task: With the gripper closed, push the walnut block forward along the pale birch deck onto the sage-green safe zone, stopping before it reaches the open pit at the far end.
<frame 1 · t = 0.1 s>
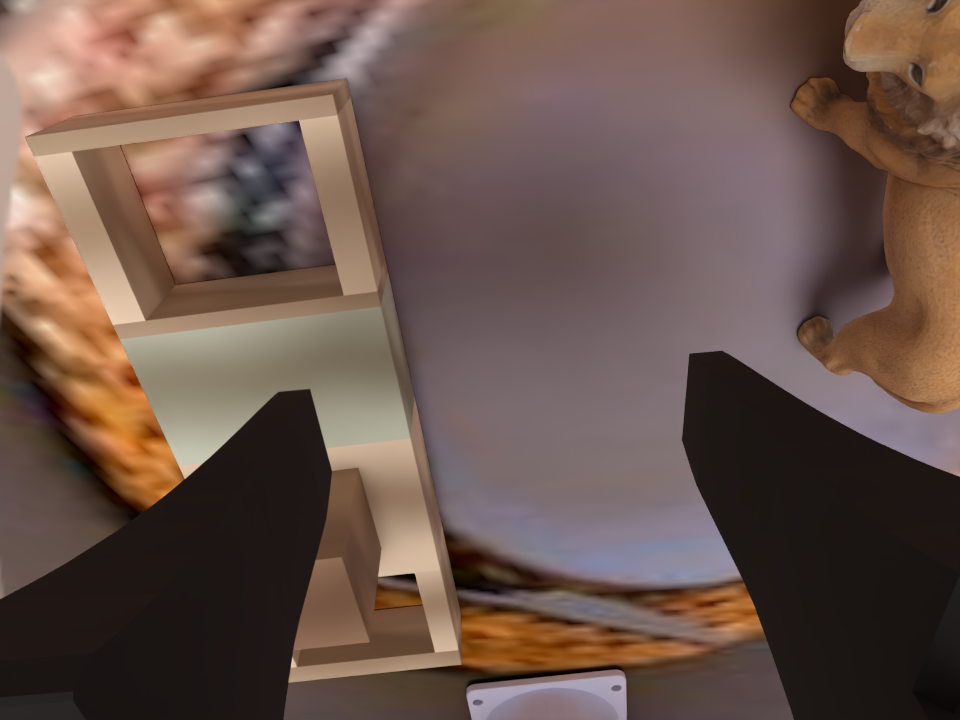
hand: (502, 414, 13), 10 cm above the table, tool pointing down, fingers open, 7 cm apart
lion figurine: (836, 170, 21), on the table
walnut block: (316, 516, 24), point 2 cm above the table, touching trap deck
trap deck: (312, 425, 25), on the table
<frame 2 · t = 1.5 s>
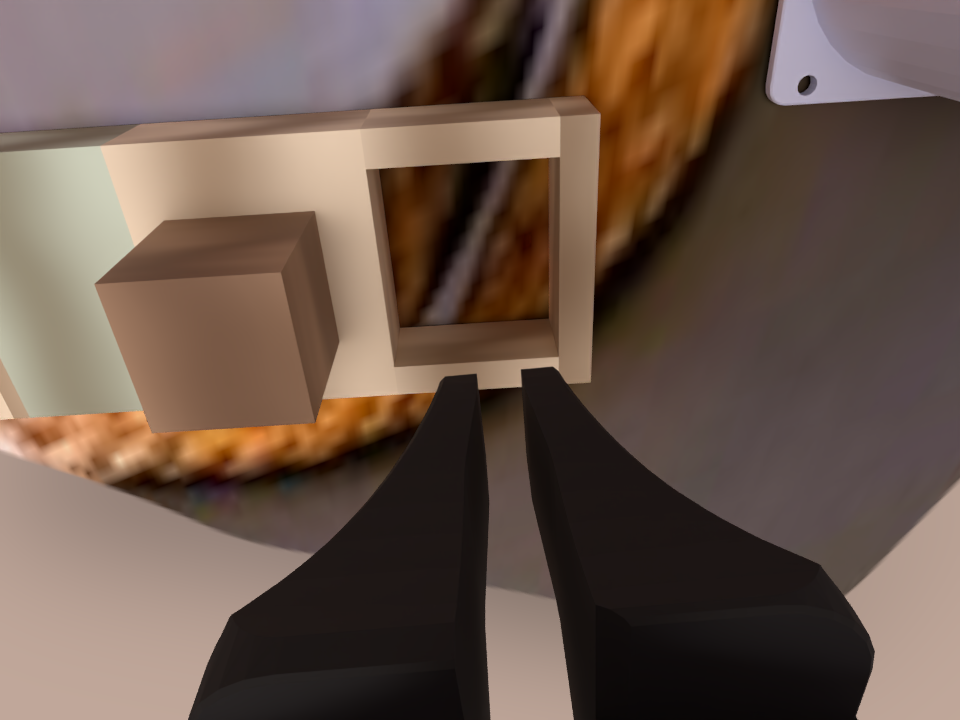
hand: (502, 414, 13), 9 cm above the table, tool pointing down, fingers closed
walnut block: (256, 284, 19), point 2 cm above the table, touching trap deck
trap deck: (205, 255, 21), on the table
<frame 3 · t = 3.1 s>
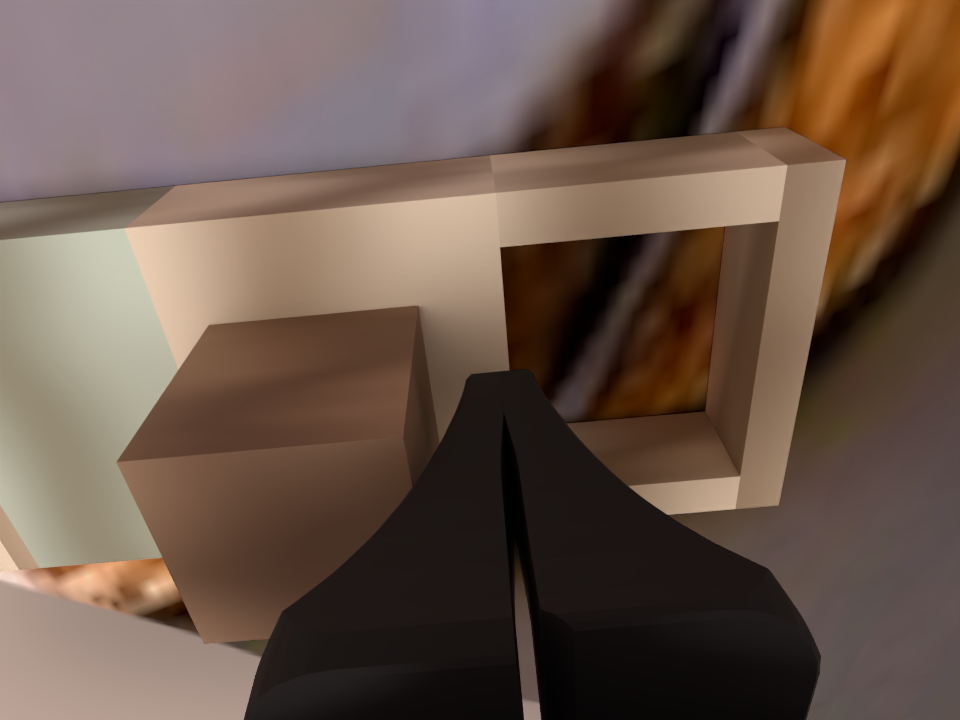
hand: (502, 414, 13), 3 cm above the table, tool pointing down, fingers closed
walnut block: (334, 401, 14), point 3 cm above the table, touching gripper
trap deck: (261, 348, 16), on the table
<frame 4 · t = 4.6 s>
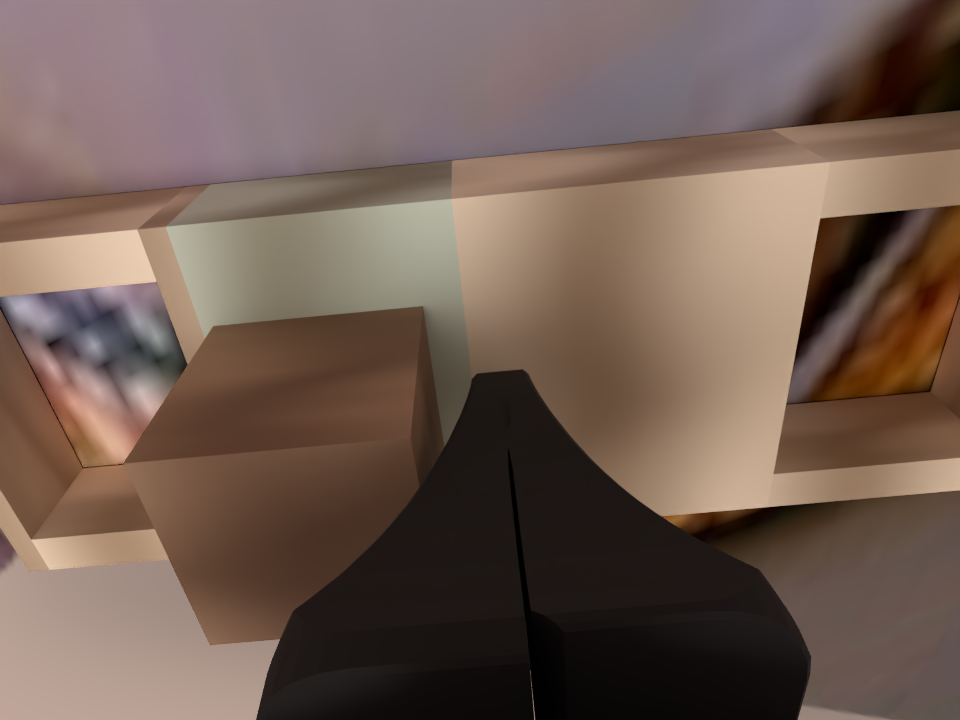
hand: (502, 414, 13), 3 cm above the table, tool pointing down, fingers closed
walnut block: (338, 402, 14), point 2 cm above the table, touching gripper, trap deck
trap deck: (502, 328, 16), on the table
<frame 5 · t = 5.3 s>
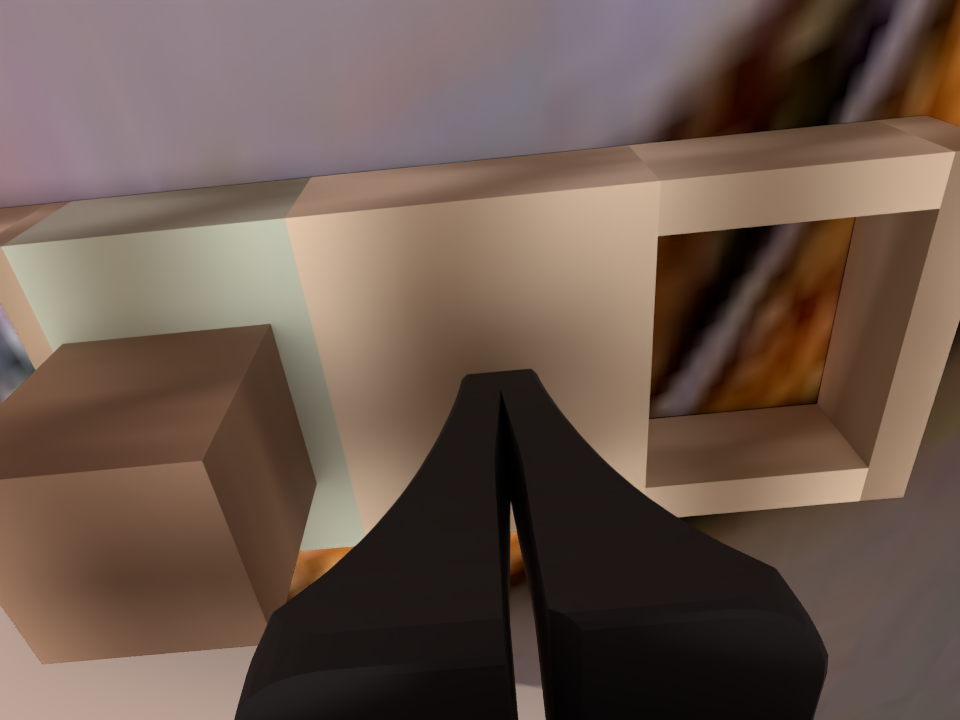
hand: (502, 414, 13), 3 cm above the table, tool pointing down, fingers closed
walnut block: (198, 418, 14), point 2 cm above the table, touching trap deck
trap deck: (380, 342, 16), on the table
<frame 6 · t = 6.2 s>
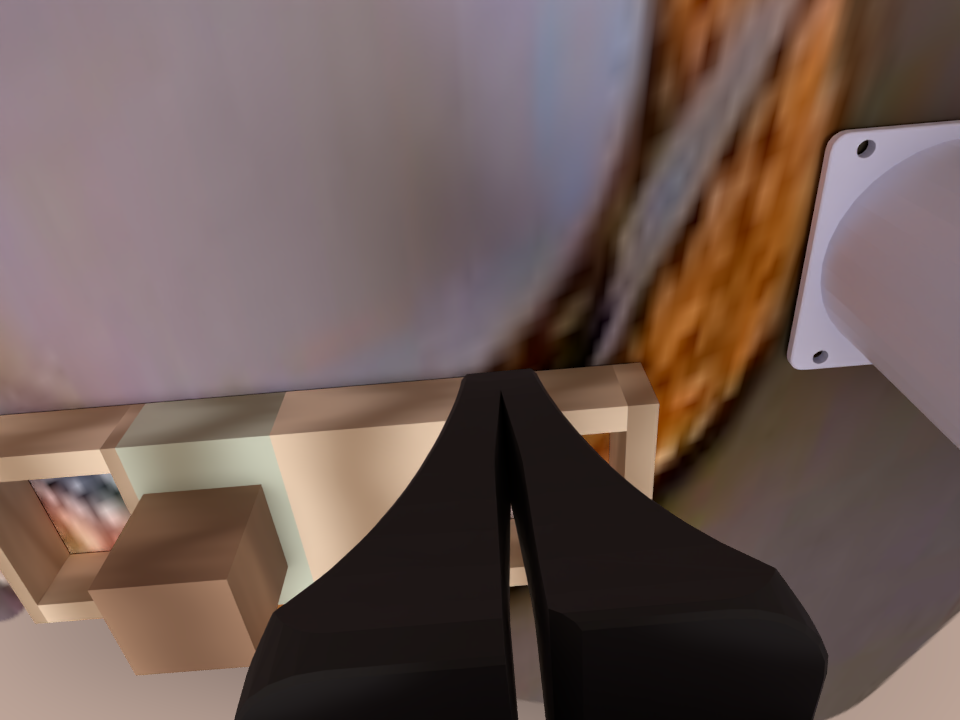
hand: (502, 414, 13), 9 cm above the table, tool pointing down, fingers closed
walnut block: (218, 531, 24), point 2 cm above the table, touching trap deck
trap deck: (329, 476, 26), on the table
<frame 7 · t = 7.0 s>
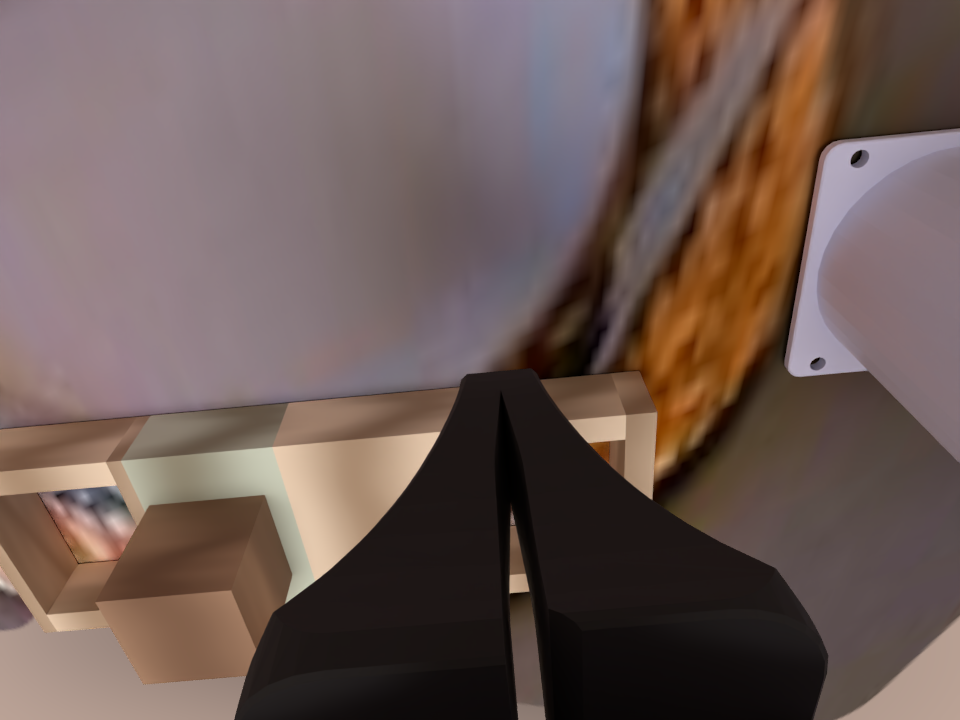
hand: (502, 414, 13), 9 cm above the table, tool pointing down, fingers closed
walnut block: (223, 541, 24), point 2 cm above the table, touching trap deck
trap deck: (332, 485, 26), on the table
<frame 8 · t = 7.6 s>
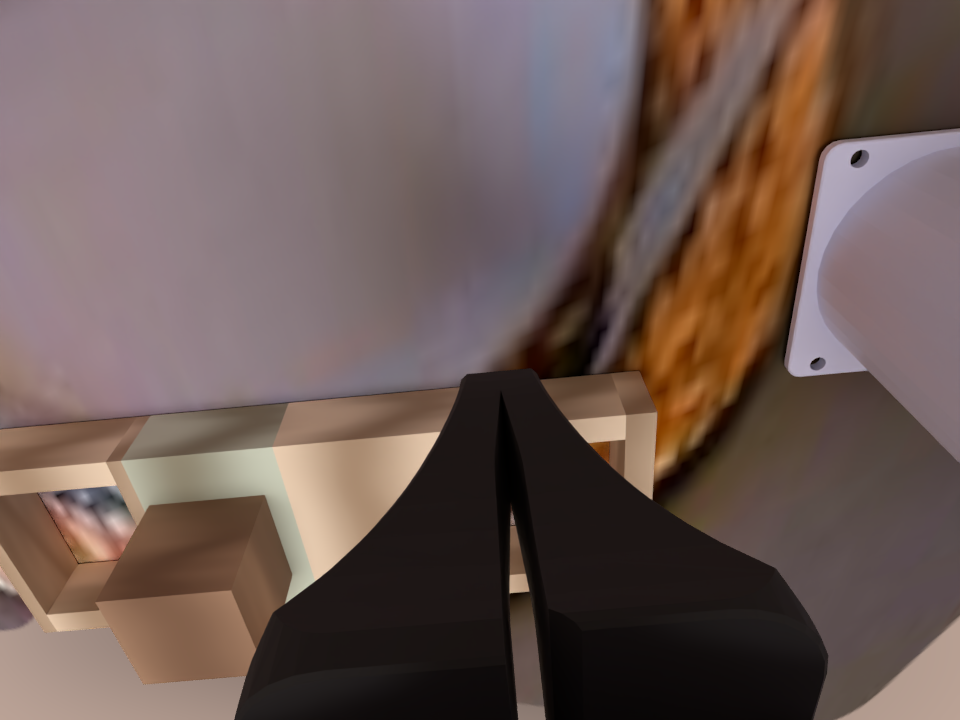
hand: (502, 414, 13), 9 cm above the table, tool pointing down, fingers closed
walnut block: (223, 541, 24), point 2 cm above the table, touching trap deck
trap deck: (332, 485, 26), on the table
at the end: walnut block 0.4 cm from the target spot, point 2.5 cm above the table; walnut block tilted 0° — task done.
